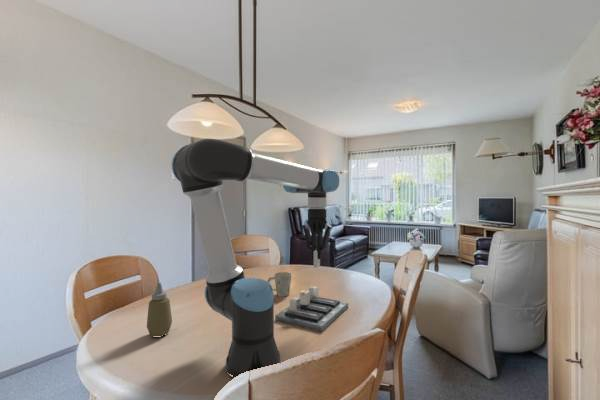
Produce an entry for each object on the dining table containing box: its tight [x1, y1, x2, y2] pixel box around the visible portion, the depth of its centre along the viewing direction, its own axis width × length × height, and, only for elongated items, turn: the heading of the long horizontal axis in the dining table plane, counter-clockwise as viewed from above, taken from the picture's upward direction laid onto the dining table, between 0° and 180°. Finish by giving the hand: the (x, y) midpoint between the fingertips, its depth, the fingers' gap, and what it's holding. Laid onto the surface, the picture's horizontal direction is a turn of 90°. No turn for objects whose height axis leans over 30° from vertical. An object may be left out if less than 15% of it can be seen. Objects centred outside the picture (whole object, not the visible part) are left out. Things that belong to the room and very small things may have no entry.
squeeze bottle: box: [146, 282, 173, 337], centre depth 102 cm, size 8×8×18 cm
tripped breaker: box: [299, 289, 310, 305], centre depth 121 cm, size 3×3×5 cm
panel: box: [274, 285, 349, 332], centre depth 119 cm, size 26×20×8 cm
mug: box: [266, 271, 292, 297], centre depth 143 cm, size 8×13×10 cm, turn 78°
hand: (316, 266), depth 117 cm, fingers closed
